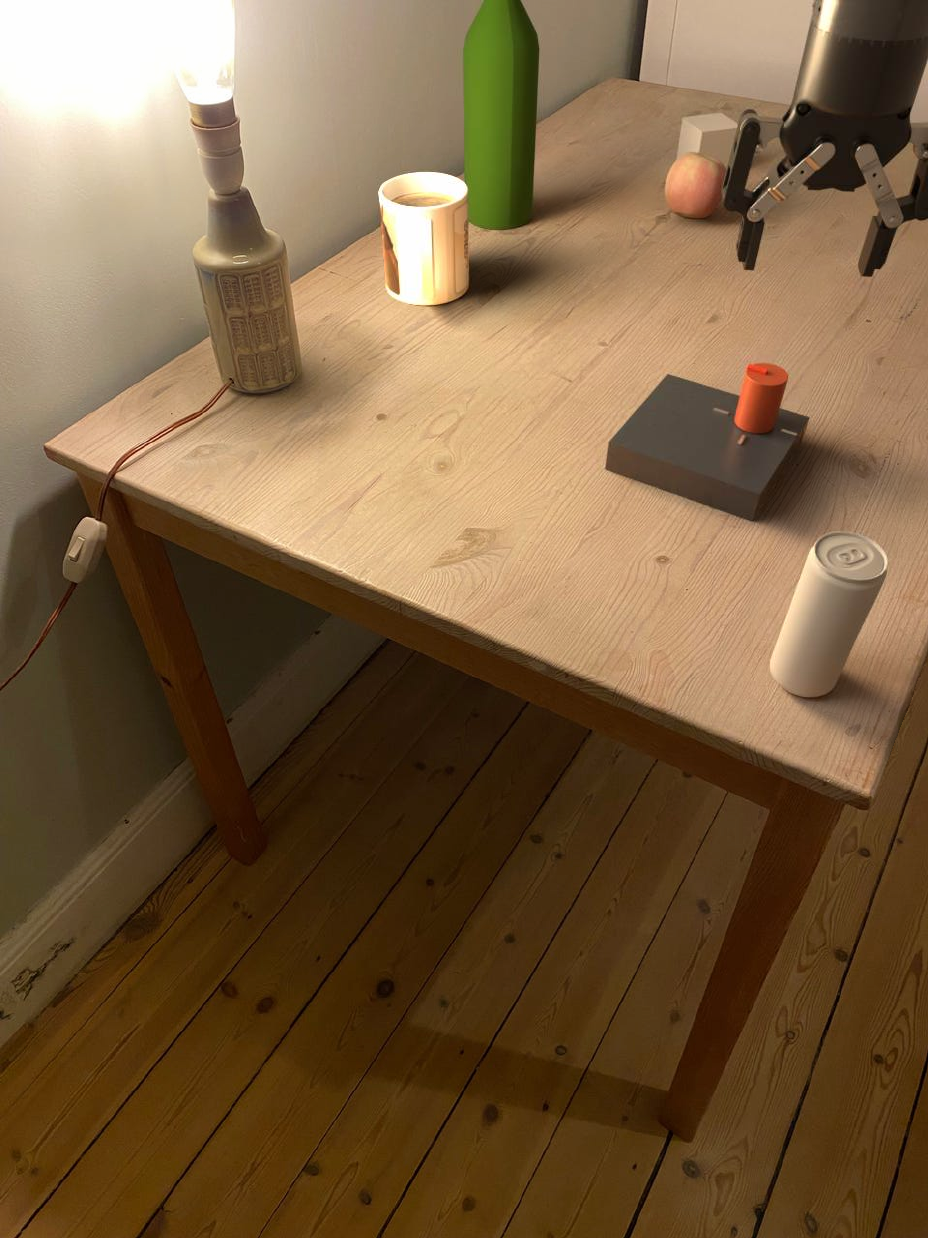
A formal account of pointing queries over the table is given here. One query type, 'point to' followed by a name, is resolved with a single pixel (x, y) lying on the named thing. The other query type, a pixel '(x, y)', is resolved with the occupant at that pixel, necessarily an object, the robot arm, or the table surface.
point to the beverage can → (827, 612)
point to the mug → (425, 237)
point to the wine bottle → (500, 114)
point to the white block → (707, 136)
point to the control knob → (760, 397)
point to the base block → (704, 447)
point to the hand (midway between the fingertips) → (805, 268)
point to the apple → (694, 185)
